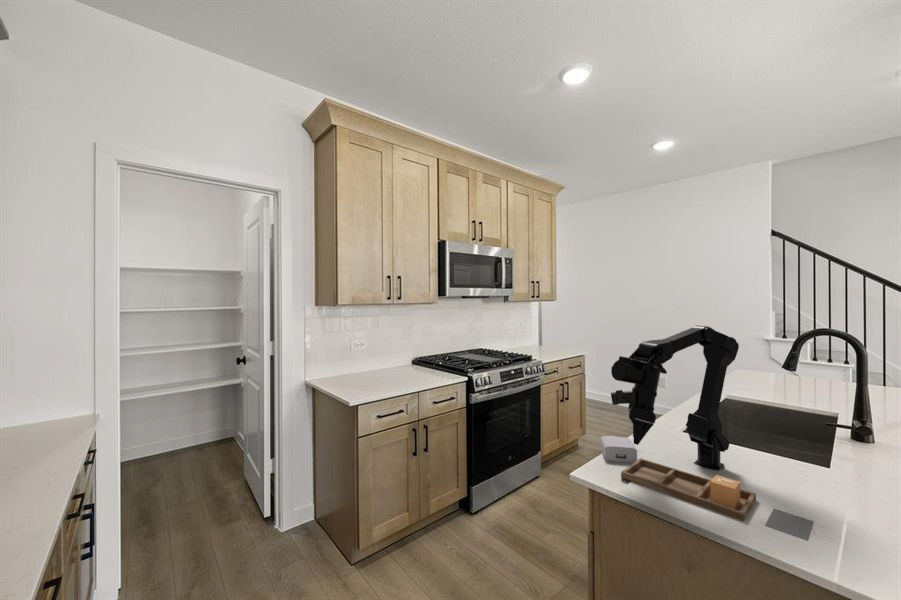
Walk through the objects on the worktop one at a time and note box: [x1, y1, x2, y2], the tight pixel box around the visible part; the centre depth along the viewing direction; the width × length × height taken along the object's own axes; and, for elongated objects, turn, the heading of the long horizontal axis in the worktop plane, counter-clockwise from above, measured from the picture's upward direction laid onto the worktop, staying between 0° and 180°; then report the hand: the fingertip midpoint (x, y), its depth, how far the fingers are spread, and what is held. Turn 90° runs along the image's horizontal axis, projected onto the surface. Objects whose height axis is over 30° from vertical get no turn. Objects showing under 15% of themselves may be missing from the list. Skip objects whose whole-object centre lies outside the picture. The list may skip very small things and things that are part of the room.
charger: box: [600, 435, 638, 463], centre depth 126 cm, size 5×9×15 cm
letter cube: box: [710, 474, 741, 509], centre depth 95 cm, size 5×5×5 cm
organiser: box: [620, 458, 757, 522], centre depth 101 cm, size 13×28×2 cm, turn 41°
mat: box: [764, 508, 815, 542], centre depth 86 cm, size 10×7×1 cm
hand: (635, 440), depth 108 cm, fingers open, 9 cm apart
